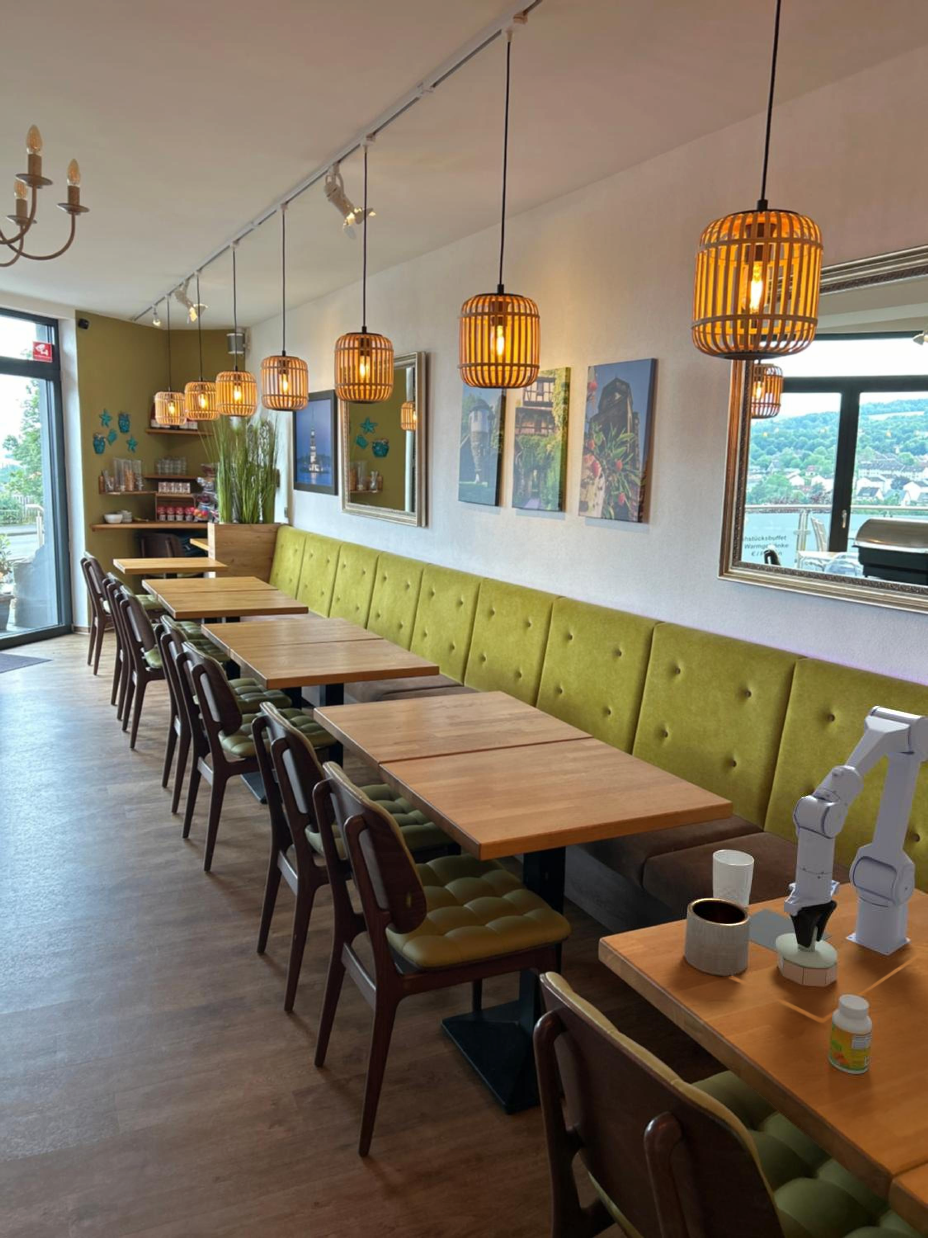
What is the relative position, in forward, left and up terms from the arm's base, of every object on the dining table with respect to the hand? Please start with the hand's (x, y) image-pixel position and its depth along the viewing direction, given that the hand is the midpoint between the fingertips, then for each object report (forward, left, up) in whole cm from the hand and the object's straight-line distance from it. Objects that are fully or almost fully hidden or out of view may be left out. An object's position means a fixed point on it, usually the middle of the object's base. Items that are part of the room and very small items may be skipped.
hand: (808, 942), depth 156 cm
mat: (-9, -11, -6) cm, 15 cm away
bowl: (0, 0, -6) cm, 6 cm away
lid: (0, 0, -2) cm, 2 cm away
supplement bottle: (+18, +17, -6) cm, 26 cm away
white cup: (-13, -24, -6) cm, 28 cm away
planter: (+9, -12, -6) cm, 16 cm away
